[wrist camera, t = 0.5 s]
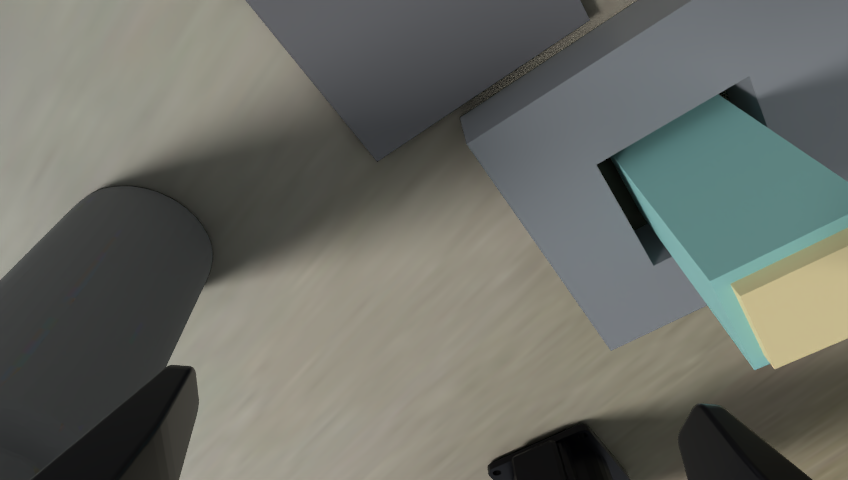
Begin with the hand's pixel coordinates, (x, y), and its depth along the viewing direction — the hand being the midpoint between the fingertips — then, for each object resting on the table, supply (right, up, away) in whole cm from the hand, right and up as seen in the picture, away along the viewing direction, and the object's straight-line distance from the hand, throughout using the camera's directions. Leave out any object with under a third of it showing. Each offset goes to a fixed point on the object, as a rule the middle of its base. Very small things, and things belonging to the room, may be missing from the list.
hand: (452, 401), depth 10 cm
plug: (+9, +6, +12) cm, 16 cm away
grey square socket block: (+9, +6, +12) cm, 16 cm away
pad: (-1, +11, +8) cm, 14 cm away
